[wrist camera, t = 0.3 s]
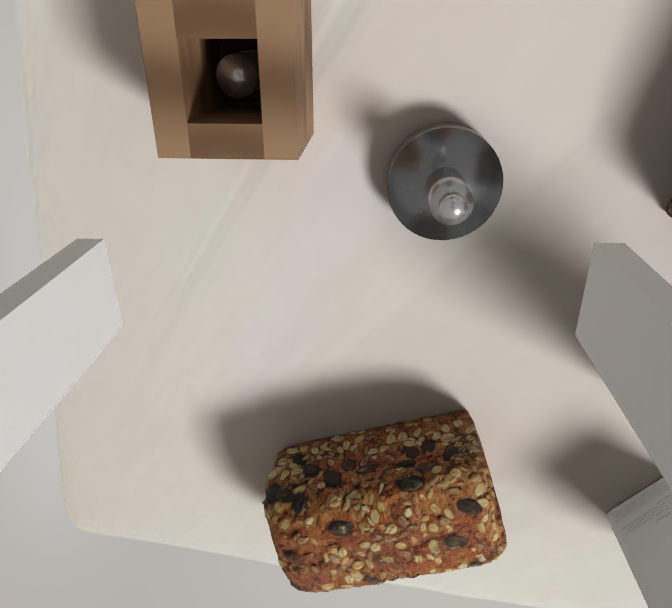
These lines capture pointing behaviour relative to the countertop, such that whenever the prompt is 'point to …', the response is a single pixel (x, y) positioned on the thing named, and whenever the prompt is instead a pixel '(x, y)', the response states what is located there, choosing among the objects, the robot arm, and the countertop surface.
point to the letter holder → (669, 209)
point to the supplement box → (648, 540)
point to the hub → (444, 181)
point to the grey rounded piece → (239, 73)
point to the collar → (203, 89)
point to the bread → (384, 505)
